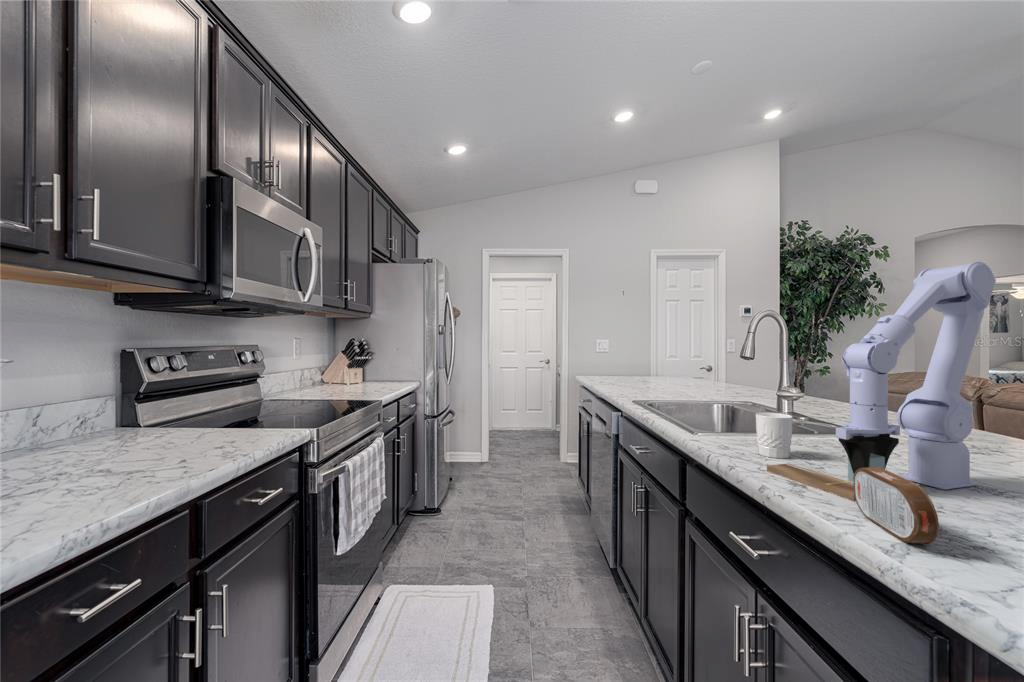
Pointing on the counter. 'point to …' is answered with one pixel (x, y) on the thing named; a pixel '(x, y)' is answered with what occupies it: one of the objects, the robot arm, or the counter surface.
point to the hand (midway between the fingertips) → (868, 473)
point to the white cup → (774, 434)
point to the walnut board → (815, 479)
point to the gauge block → (873, 462)
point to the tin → (896, 505)
